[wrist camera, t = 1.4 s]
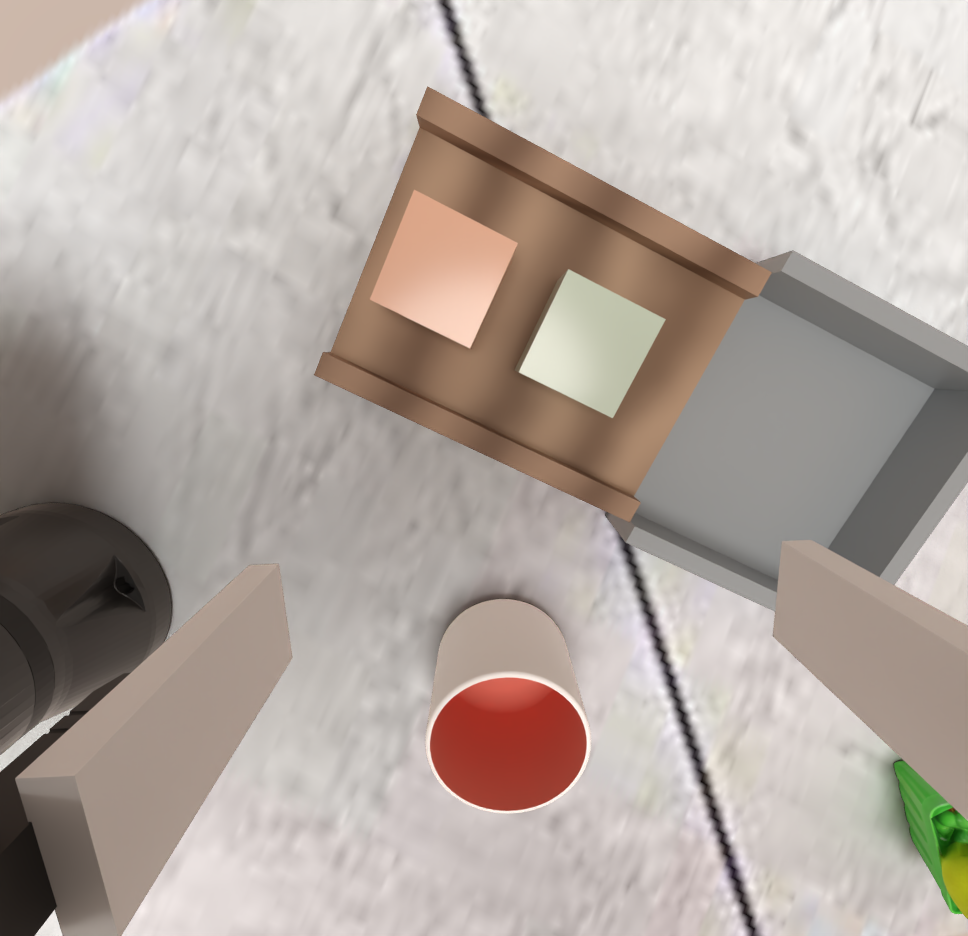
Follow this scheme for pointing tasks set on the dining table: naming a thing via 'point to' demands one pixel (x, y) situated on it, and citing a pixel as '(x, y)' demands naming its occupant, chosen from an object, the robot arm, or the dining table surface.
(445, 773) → the cup
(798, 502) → the box
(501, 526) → the dining table surface
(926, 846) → the fruit basket
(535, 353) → the tile
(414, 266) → the tile
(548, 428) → the wooden tray
